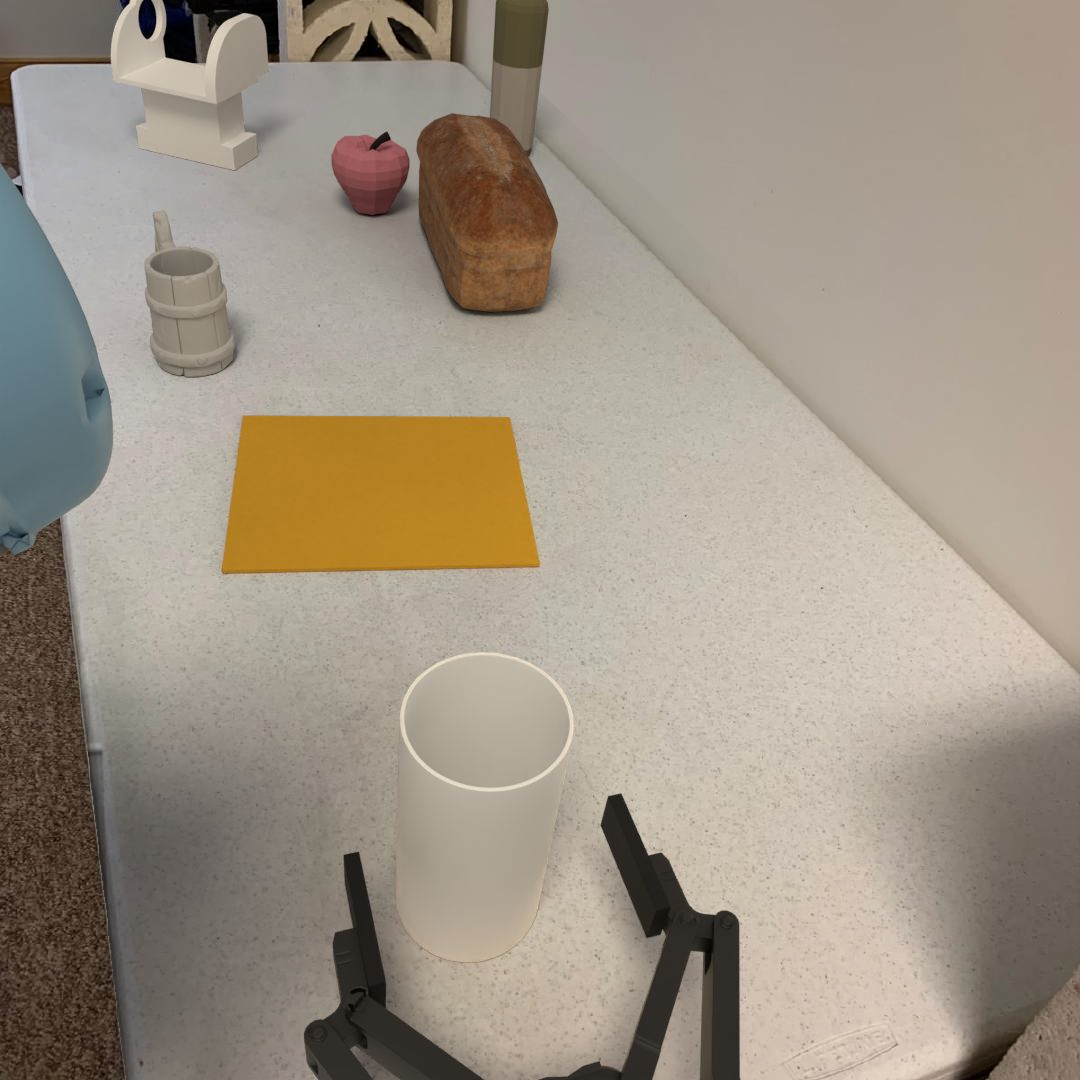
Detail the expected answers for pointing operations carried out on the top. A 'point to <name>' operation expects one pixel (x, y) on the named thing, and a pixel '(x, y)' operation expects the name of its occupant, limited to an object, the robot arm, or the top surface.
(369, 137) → the apple
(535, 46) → the bottle
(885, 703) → the top surface
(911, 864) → the top surface
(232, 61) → the white holder stand
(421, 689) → the cup
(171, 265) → the mug
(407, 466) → the cloth
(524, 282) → the bread
